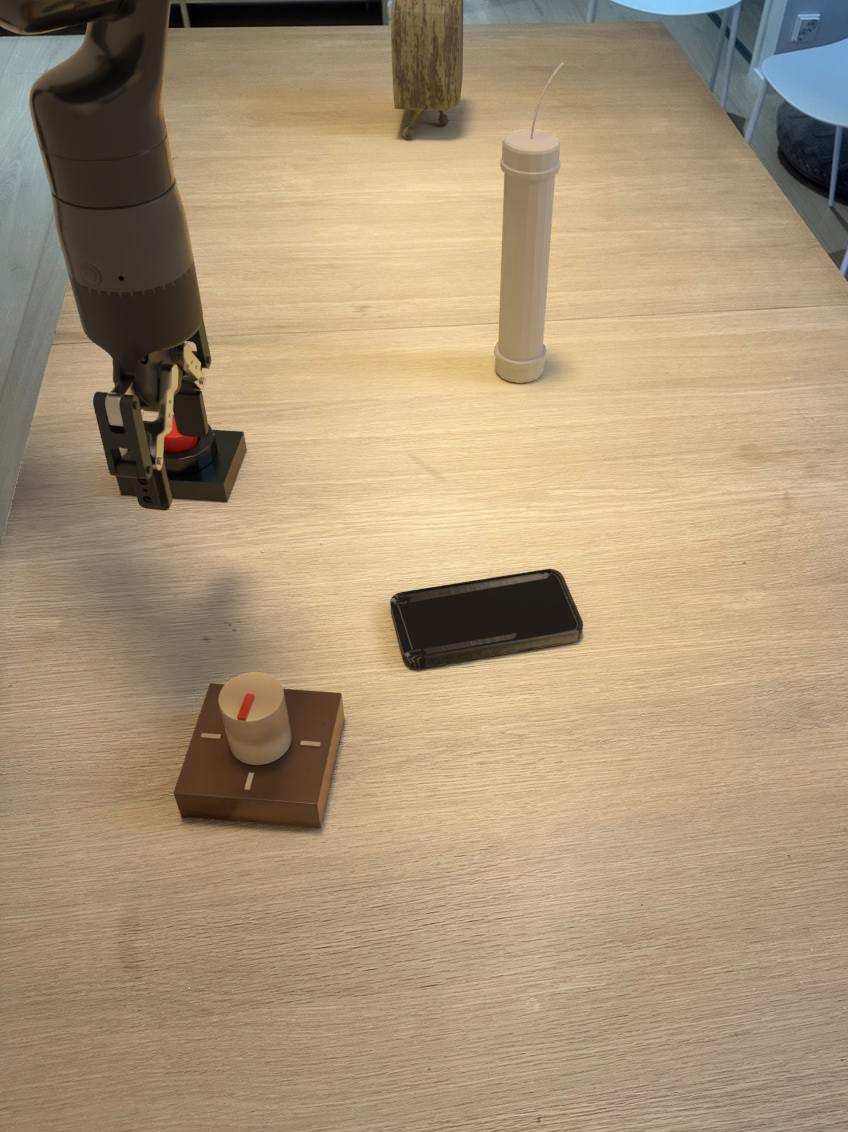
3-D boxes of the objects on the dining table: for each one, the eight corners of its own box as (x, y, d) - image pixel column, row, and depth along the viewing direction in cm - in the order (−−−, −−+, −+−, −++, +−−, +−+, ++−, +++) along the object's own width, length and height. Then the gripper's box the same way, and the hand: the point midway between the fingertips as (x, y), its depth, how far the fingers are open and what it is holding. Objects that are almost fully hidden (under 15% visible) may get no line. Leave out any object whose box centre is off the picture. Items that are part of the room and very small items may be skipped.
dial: (240, 712, 77) (228, 664, 73) (298, 720, 77) (290, 672, 73) (221, 761, 74) (208, 713, 70) (282, 769, 74) (272, 722, 70)
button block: (121, 495, 98) (110, 460, 95) (146, 443, 104) (137, 409, 101) (227, 502, 98) (220, 468, 95) (247, 449, 103) (241, 415, 100)
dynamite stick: (482, 368, 114) (490, 68, 91) (525, 348, 116) (542, 52, 94) (518, 391, 111) (534, 87, 89) (560, 369, 114) (586, 70, 92)
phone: (387, 594, 88) (559, 566, 91) (388, 603, 89) (558, 576, 92) (406, 662, 83) (587, 631, 86) (406, 672, 84) (586, 641, 87)
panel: (180, 817, 75) (172, 792, 72) (216, 707, 81) (209, 681, 79) (321, 828, 74) (316, 803, 72) (344, 717, 81) (341, 691, 79)
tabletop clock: (403, 104, 162) (398, -89, 143) (462, 106, 162) (464, -86, 143) (395, 144, 152) (387, -58, 134) (457, 146, 152) (459, -56, 134)
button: (153, 451, 97) (149, 436, 96) (164, 428, 99) (161, 412, 98) (192, 454, 97) (188, 438, 95) (202, 430, 99) (199, 415, 98)
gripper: (151, 323, 59) (197, 539, 71) (222, 209, 69) (253, 416, 81) (21, 310, 60) (89, 527, 72) (111, 199, 69) (157, 407, 81)
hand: (176, 468), depth 76 cm, fingers open, 8 cm apart
